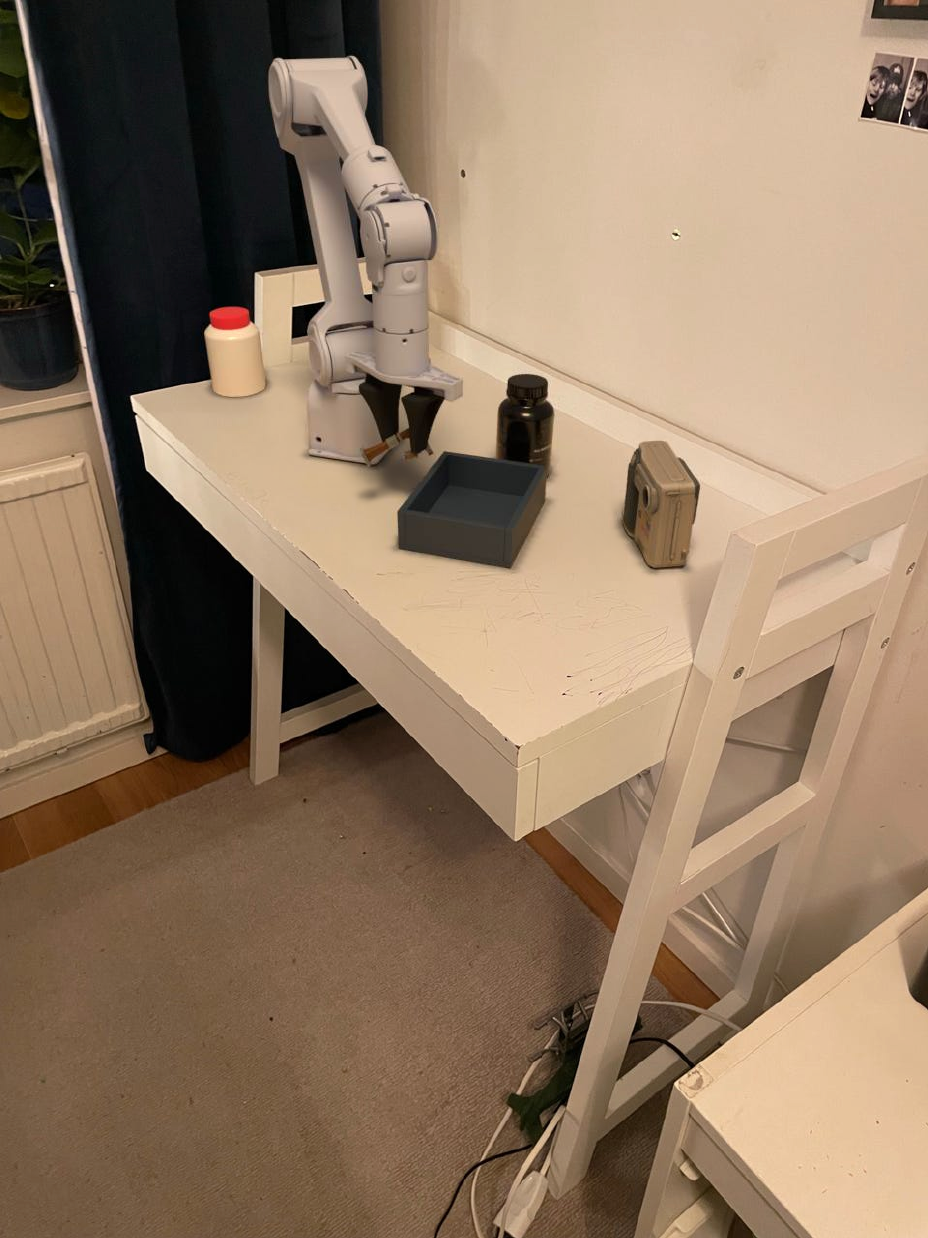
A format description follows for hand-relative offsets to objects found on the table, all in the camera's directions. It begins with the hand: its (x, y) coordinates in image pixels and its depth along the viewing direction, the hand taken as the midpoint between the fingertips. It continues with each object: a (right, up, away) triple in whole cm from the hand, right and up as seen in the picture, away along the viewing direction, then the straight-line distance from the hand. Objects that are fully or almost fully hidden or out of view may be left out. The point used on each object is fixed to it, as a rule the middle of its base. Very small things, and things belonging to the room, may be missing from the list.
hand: (404, 445), depth 105 cm
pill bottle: (-27, +15, +33) cm, 45 cm away
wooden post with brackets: (-1, -2, +1) cm, 2 cm away
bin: (+8, -9, +1) cm, 12 cm away
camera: (+28, -11, -3) cm, 30 cm away
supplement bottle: (+14, -1, +11) cm, 18 cm away
